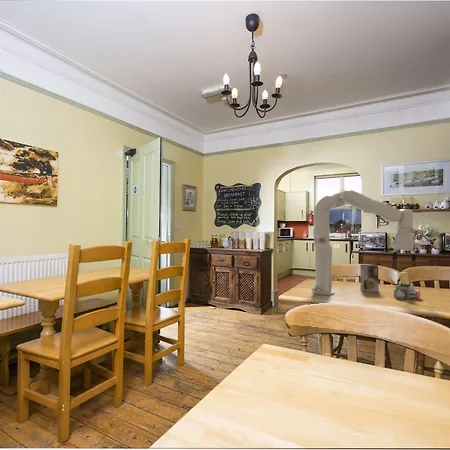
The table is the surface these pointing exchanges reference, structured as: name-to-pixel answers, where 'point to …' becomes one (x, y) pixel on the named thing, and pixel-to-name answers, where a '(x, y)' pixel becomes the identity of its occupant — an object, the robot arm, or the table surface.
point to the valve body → (406, 292)
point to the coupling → (404, 279)
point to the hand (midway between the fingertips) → (404, 260)
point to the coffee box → (369, 277)
